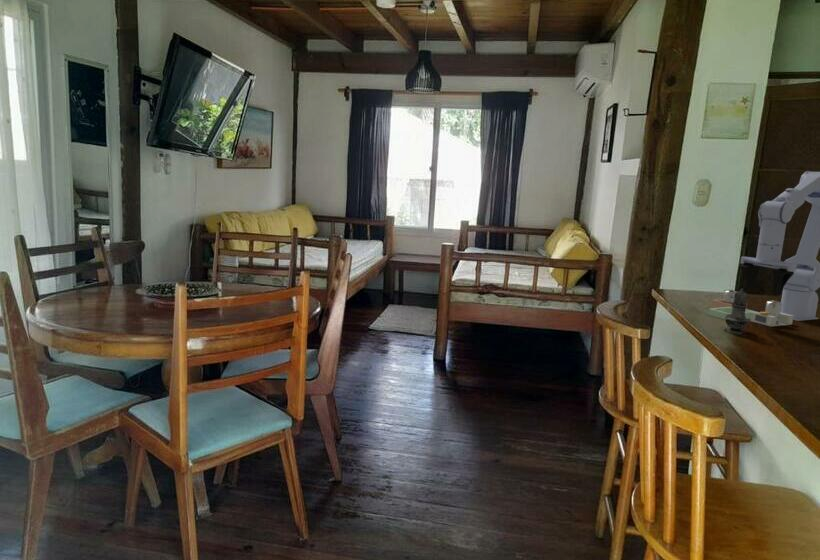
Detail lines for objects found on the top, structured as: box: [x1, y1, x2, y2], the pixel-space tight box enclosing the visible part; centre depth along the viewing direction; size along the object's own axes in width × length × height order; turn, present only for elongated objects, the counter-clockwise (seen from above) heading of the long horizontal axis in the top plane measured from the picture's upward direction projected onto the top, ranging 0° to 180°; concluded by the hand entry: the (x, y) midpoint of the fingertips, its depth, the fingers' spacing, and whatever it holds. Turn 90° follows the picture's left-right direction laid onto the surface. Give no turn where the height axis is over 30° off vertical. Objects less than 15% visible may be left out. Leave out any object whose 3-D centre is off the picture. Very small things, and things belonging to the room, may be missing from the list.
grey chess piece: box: [723, 288, 751, 336], centre depth 140 cm, size 6×6×12 cm
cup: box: [710, 299, 748, 309], centre depth 165 cm, size 7×7×3 cm
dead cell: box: [723, 289, 737, 304], centre depth 165 cm, size 4×4×6 cm
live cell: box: [764, 300, 782, 324], centre depth 151 cm, size 4×4×6 cm
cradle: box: [749, 311, 794, 327], centre depth 151 cm, size 9×6×4 cm, turn 111°
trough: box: [706, 307, 757, 321], centre depth 157 cm, size 12×7×2 cm, turn 111°
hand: (762, 292), depth 148 cm, fingers open, 7 cm apart
